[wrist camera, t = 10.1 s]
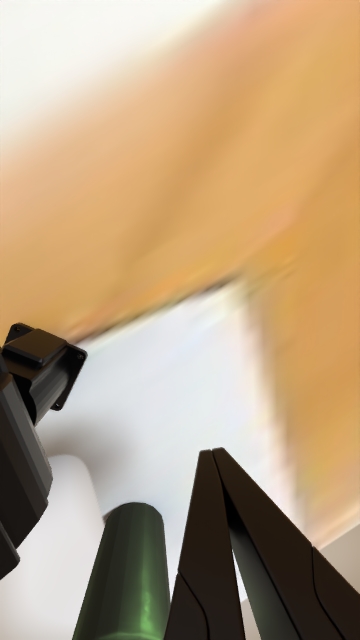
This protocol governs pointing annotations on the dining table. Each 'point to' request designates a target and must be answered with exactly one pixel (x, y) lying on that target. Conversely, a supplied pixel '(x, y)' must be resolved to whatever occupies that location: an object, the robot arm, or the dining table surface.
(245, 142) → the dining table surface
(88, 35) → the dining table surface
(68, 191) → the dining table surface
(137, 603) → the potion bottle
